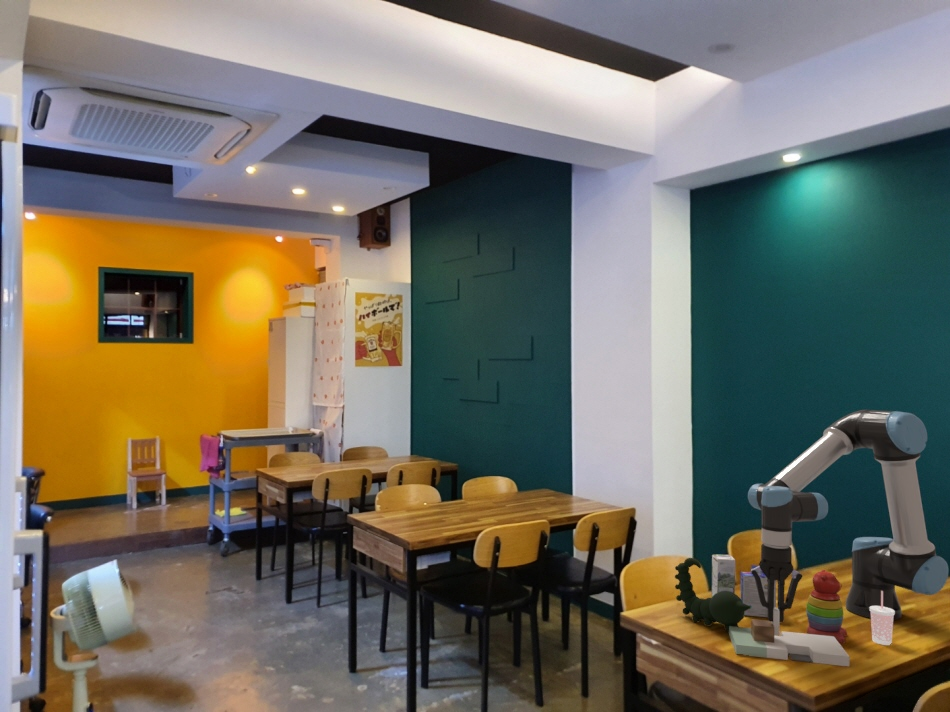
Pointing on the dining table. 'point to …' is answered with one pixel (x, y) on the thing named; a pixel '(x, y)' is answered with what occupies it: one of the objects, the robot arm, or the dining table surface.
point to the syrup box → (723, 573)
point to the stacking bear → (825, 607)
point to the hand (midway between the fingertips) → (775, 633)
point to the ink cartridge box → (754, 593)
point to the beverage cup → (882, 623)
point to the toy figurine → (708, 601)
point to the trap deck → (790, 647)
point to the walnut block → (762, 630)
